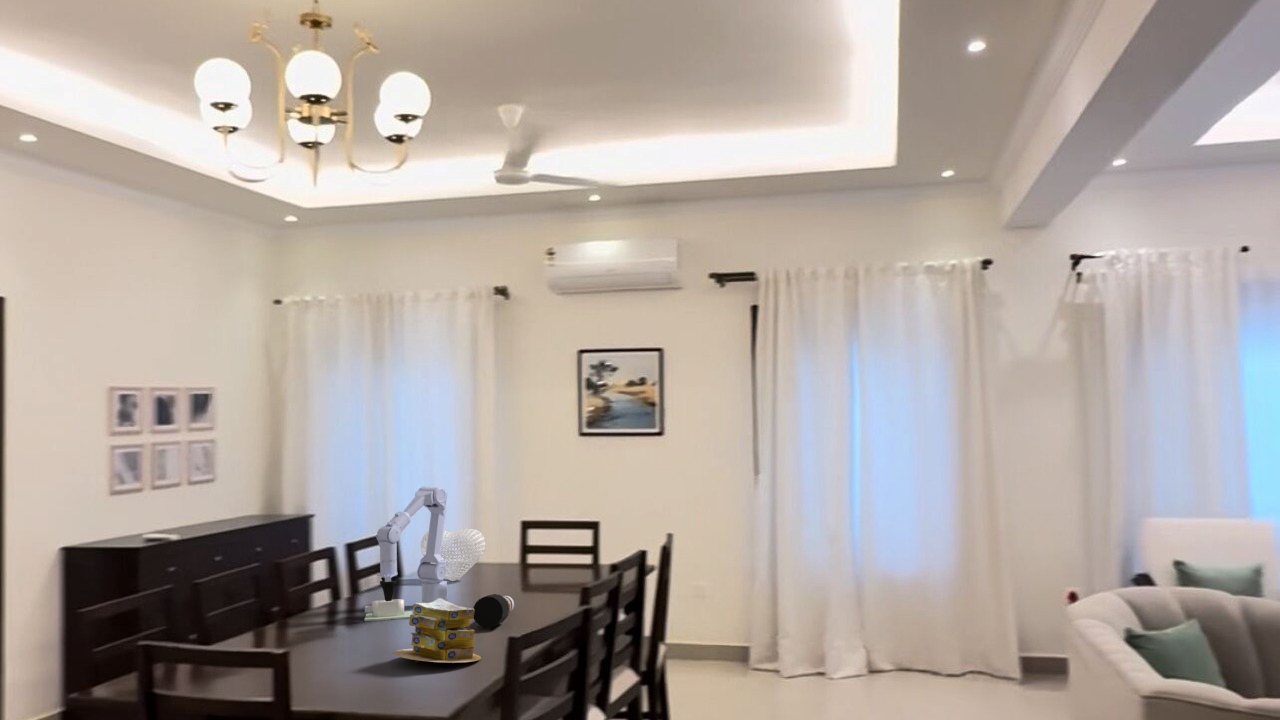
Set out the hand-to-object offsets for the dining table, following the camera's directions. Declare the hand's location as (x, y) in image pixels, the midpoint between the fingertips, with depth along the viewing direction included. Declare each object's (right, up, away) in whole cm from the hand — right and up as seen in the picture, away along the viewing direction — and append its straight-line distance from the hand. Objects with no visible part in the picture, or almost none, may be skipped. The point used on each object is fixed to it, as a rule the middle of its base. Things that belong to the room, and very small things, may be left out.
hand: (388, 598), depth 344 cm
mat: (0, -6, 0) cm, 6 cm away
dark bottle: (+40, -5, -8) cm, 41 cm away
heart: (+9, -10, +72) cm, 73 cm away
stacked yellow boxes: (+31, -3, -64) cm, 71 cm away
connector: (-1, -6, -1) cm, 6 cm away
